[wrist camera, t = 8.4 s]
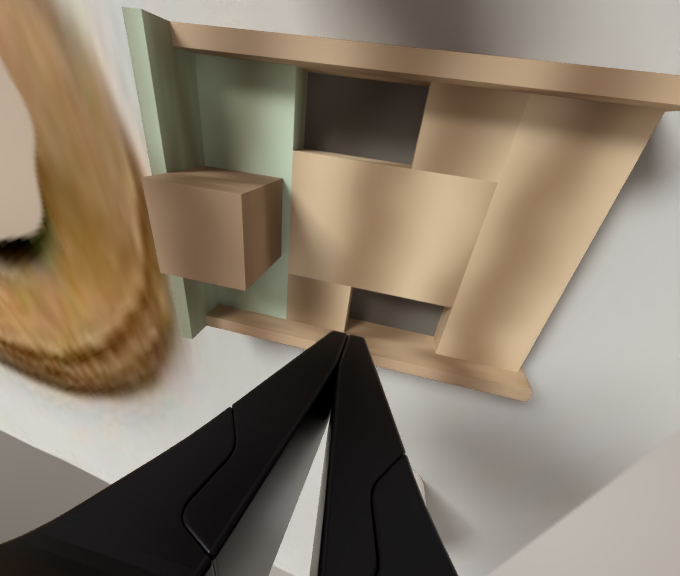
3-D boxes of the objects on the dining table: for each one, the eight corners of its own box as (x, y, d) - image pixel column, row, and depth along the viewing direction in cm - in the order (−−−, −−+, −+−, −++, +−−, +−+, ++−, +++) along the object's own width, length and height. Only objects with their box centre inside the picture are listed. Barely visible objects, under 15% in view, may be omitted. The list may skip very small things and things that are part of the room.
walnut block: (282, 178, 16) (241, 194, 12) (281, 256, 18) (245, 291, 14) (205, 165, 16) (141, 177, 13) (212, 242, 19) (160, 272, 15)
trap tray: (654, 91, 13) (776, 73, 9) (510, 361, 21) (536, 424, 16) (202, 40, 16) (122, 7, 11) (223, 297, 23) (180, 336, 19)
